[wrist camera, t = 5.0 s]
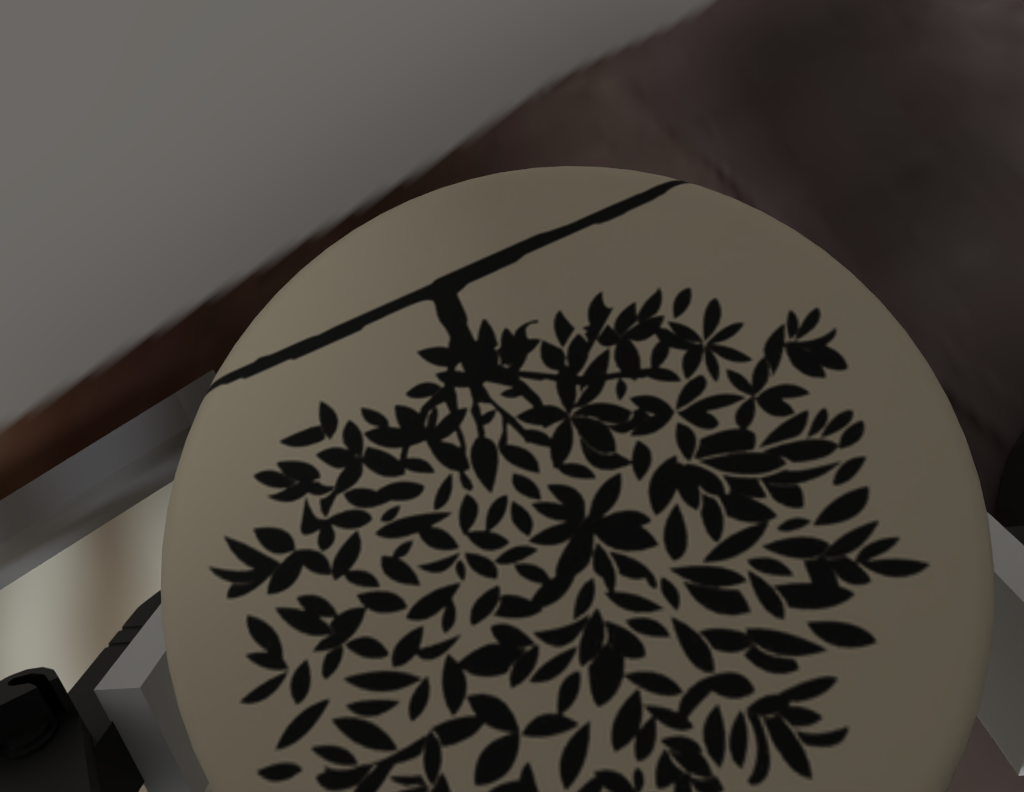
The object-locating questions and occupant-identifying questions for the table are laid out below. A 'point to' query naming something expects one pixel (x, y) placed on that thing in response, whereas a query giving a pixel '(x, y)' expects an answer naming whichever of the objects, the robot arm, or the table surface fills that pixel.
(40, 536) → the board
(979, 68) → the table surface
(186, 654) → the travel mug
